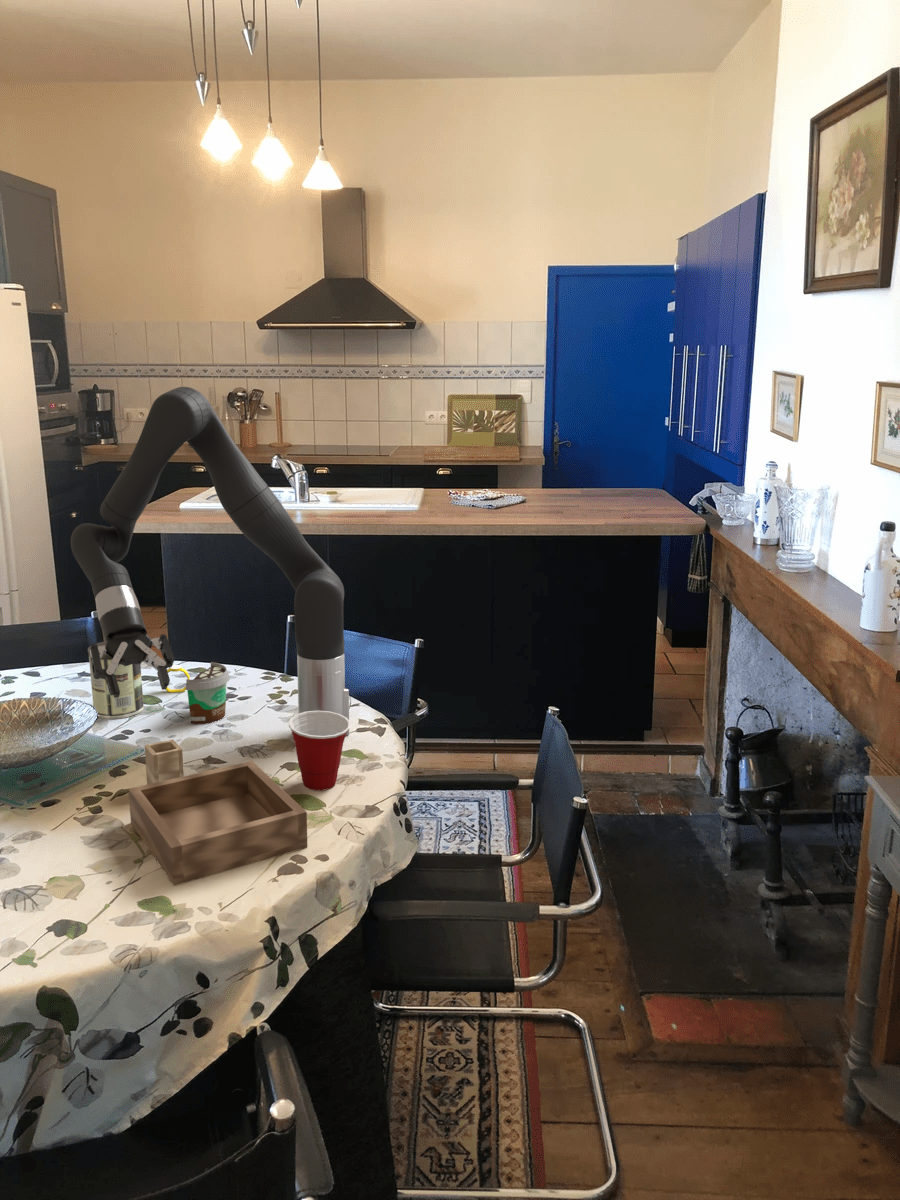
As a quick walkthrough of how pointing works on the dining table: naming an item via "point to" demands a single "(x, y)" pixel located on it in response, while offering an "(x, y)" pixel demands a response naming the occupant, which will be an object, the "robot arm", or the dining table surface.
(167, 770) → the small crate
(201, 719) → the food container
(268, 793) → the crate
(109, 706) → the coffee can
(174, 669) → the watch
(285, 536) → the robot arm
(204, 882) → the dining table surface
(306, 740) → the plastic cup
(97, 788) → the dining table surface
